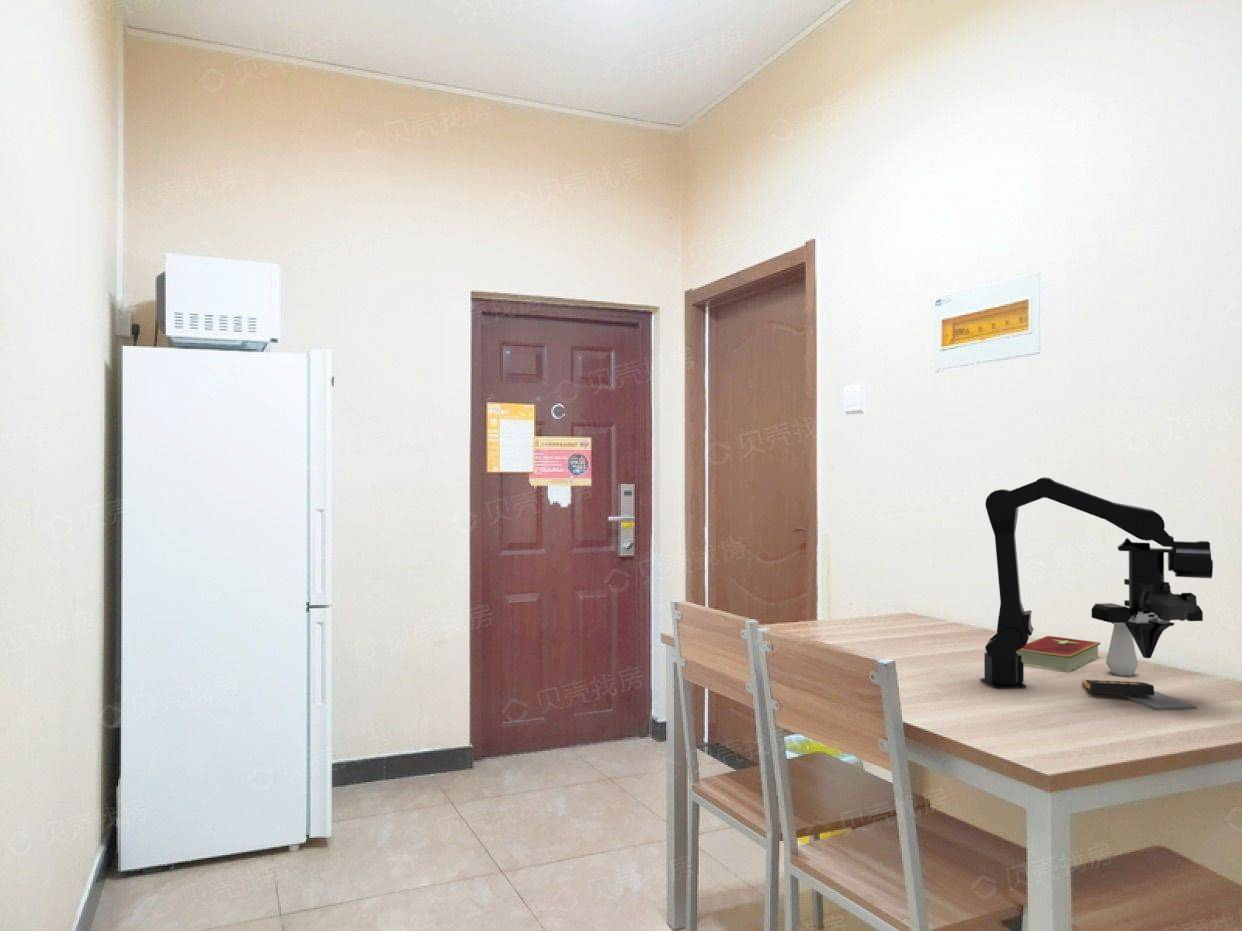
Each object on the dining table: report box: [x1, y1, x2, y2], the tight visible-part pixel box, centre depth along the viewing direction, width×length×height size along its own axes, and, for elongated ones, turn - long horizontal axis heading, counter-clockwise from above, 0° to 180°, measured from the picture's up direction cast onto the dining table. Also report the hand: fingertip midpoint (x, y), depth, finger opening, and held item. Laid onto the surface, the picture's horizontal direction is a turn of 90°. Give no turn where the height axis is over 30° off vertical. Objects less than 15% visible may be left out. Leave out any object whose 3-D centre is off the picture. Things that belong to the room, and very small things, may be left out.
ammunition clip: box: [1081, 678, 1155, 696], centre depth 169 cm, size 11×2×12 cm
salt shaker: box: [1105, 623, 1139, 677], centre depth 183 cm, size 6×6×13 cm
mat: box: [1116, 690, 1198, 711], centre depth 163 cm, size 8×12×1 cm, turn 5°
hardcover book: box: [1016, 635, 1101, 673], centre depth 197 cm, size 12×21×4 cm, turn 135°
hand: (1146, 657), depth 163 cm, fingers closed
